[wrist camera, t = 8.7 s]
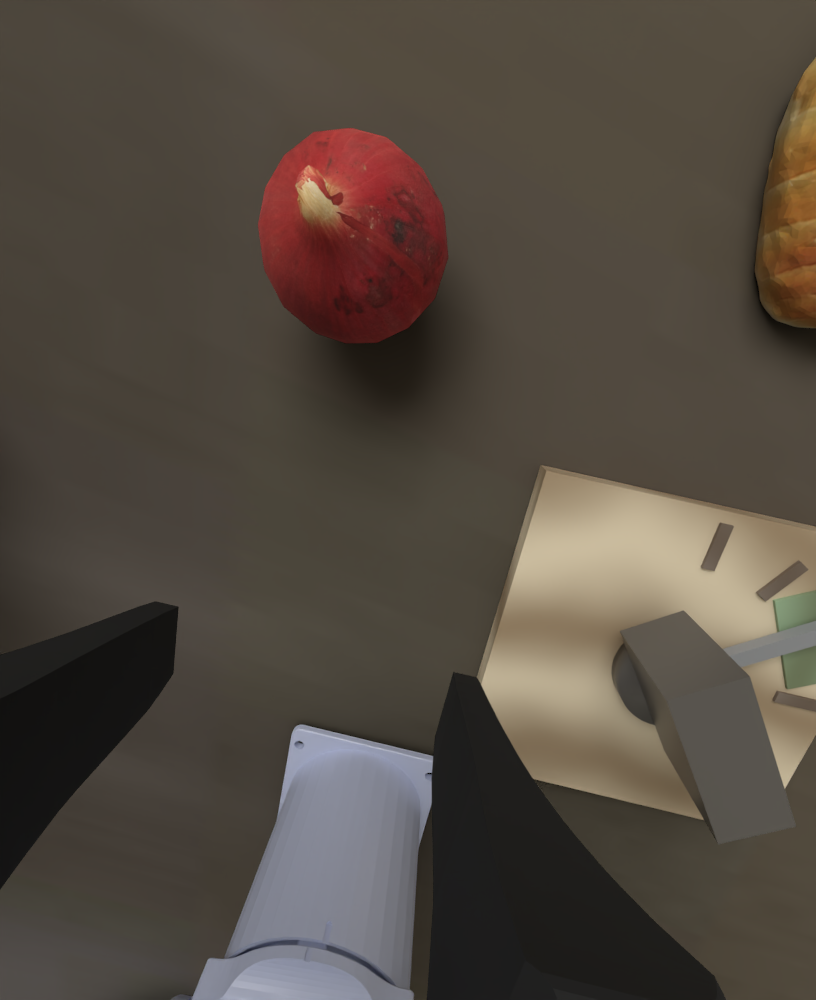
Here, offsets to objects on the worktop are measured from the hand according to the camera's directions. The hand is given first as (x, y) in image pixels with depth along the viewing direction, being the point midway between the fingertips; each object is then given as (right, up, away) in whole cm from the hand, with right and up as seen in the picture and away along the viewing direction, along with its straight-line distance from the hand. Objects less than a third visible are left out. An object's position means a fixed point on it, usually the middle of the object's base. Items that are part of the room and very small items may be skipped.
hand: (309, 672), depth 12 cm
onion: (+1, +13, +7) cm, 15 cm away
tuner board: (+14, -3, +10) cm, 17 cm away
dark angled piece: (+16, -2, +8) cm, 18 cm away
